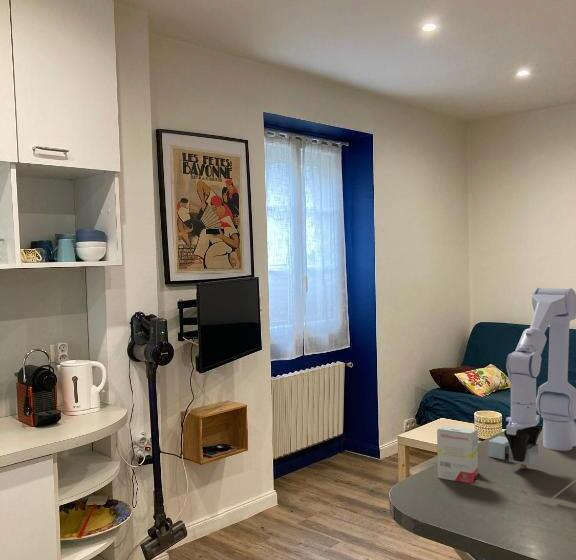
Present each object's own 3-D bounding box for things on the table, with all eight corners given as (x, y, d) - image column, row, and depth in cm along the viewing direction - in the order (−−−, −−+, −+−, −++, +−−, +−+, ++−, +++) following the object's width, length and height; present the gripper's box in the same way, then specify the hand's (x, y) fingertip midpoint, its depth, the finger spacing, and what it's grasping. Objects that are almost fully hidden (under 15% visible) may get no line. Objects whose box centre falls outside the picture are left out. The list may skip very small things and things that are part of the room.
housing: (498, 450, 160) (498, 435, 160) (513, 454, 158) (513, 438, 158) (488, 456, 156) (488, 440, 156) (503, 459, 153) (503, 443, 153)
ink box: (479, 478, 144) (478, 428, 144) (473, 484, 140) (473, 433, 140) (443, 471, 149) (443, 423, 149) (436, 477, 145) (436, 428, 145)
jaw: (517, 456, 150) (517, 440, 150) (537, 460, 146) (538, 444, 146) (508, 461, 146) (508, 444, 146) (529, 465, 143) (529, 448, 143)
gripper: (519, 394, 154) (519, 447, 154) (493, 404, 143) (493, 461, 144) (547, 398, 149) (547, 453, 149) (523, 409, 139) (523, 468, 139)
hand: (523, 458), depth 146 cm, fingers closed on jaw, 5 cm apart
